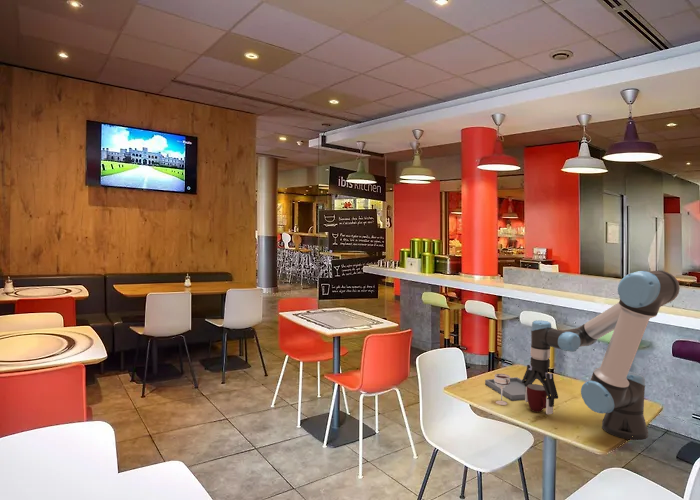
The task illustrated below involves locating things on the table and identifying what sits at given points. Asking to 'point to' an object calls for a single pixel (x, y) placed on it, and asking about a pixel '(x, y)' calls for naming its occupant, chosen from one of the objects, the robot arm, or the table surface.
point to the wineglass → (502, 384)
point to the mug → (536, 397)
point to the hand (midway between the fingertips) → (538, 407)
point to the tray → (510, 389)
